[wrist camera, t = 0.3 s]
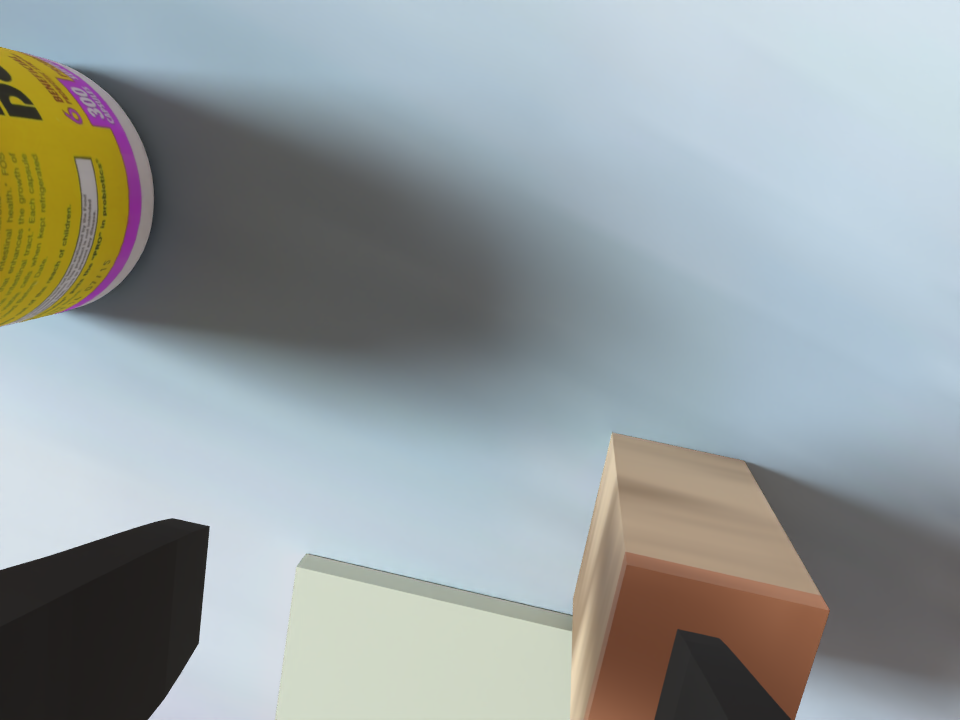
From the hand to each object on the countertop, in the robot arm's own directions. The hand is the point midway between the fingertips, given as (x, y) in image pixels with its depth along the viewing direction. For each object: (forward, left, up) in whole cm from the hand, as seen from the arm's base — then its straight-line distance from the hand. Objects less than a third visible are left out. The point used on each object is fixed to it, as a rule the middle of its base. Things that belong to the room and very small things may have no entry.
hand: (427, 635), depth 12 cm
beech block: (-2, -5, -10) cm, 11 cm away
